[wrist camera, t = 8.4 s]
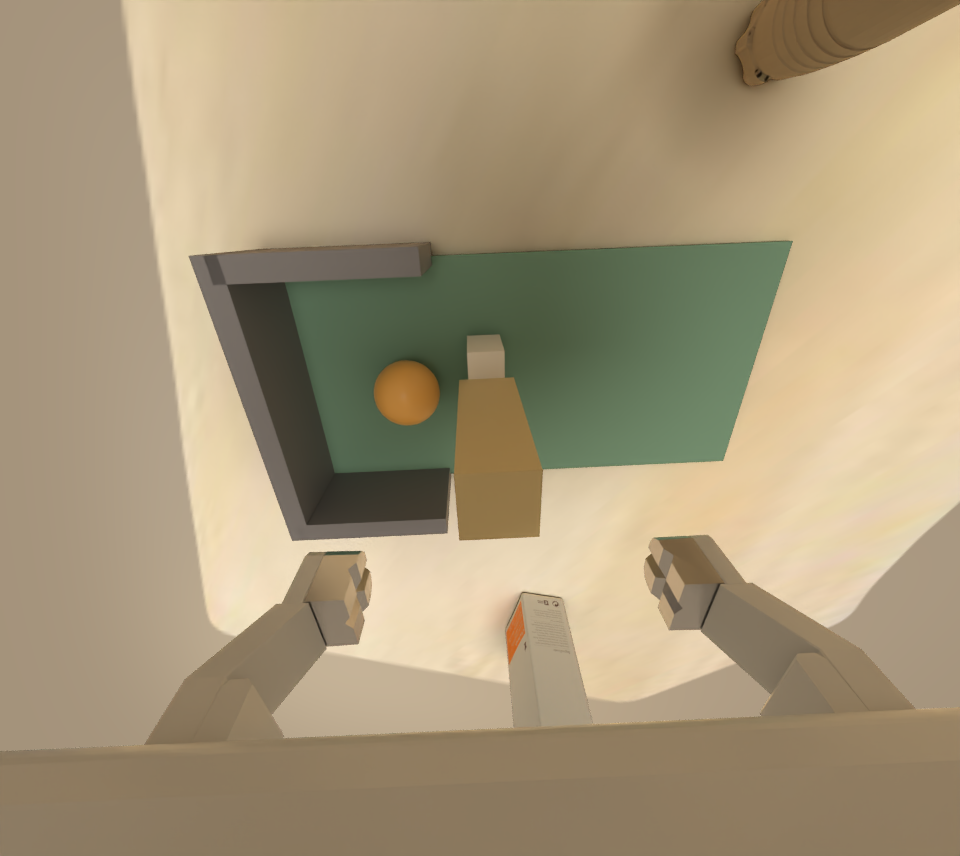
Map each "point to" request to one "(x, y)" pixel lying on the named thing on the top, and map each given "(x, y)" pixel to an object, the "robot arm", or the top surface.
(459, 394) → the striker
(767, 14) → the handle
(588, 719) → the skincare box
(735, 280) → the pitch
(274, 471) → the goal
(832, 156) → the top surface
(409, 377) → the ball
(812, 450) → the top surface
